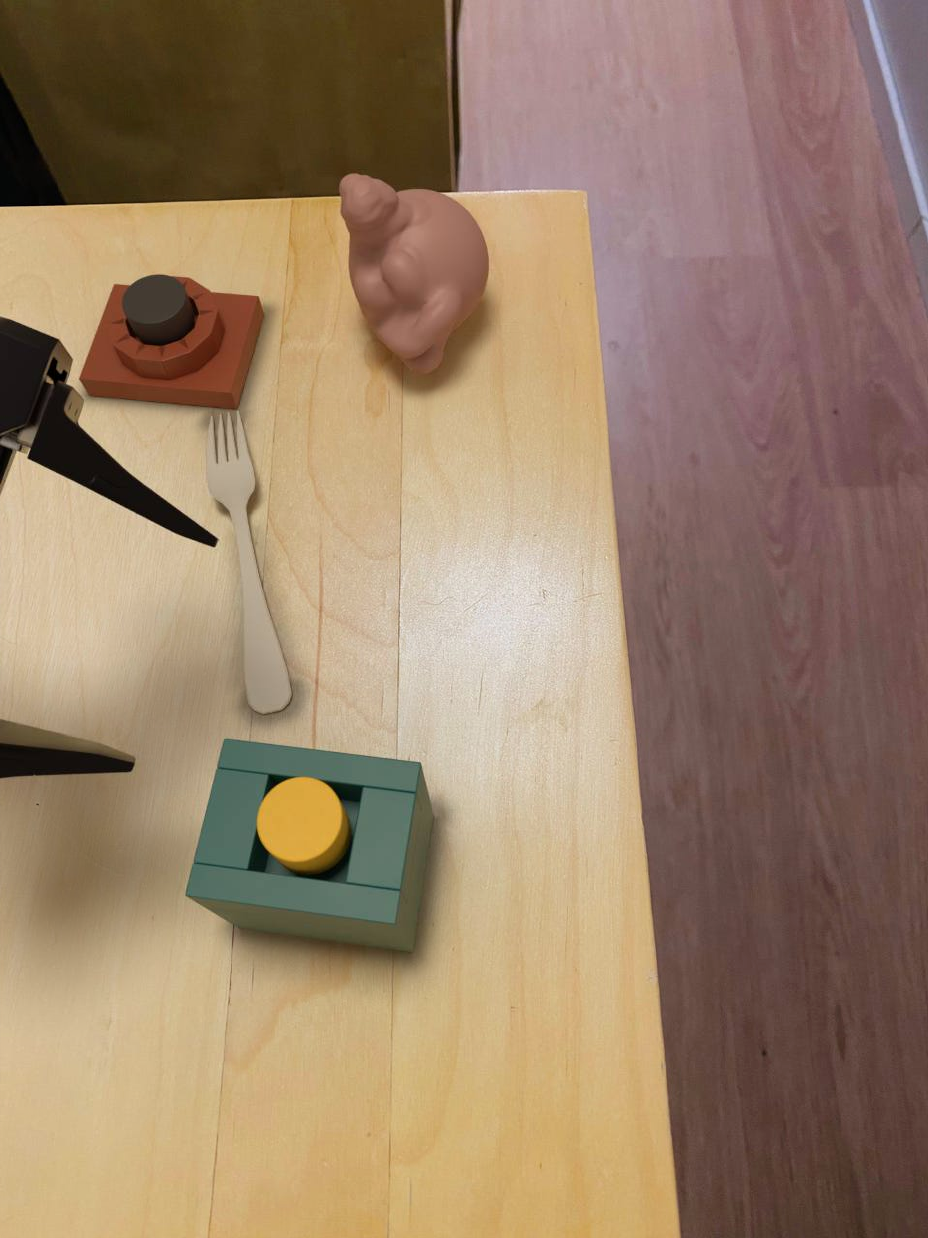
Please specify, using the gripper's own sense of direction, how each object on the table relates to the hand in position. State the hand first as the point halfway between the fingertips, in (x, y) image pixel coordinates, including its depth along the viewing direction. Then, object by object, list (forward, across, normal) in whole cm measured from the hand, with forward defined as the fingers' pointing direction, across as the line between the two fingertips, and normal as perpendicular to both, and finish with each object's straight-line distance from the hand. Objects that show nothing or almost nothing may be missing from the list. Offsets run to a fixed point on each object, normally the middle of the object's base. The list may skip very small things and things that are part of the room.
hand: (175, 654), depth 39 cm
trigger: (+8, -6, +3) cm, 11 cm away
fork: (+3, +4, +21) cm, 22 cm away
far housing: (-5, +15, +31) cm, 34 cm away
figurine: (+9, +22, +27) cm, 36 cm away
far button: (-6, +16, +28) cm, 33 cm away
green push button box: (+12, -9, +10) cm, 18 cm away
